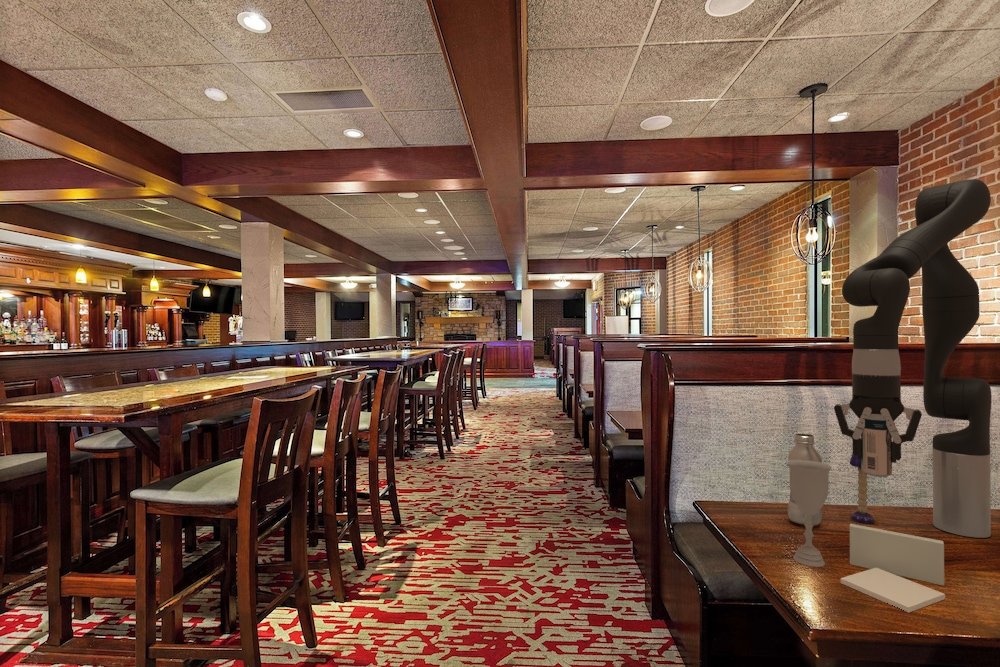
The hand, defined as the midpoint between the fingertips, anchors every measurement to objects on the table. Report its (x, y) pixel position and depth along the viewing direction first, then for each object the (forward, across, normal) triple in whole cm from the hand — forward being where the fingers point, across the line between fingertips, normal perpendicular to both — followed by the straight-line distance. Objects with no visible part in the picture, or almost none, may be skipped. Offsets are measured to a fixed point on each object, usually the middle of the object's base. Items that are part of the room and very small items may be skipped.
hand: (876, 459), depth 96 cm
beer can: (+3, 0, 0) cm, 3 cm away
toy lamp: (+19, -3, +19) cm, 27 cm away
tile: (+18, +2, -17) cm, 25 cm away
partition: (+18, +2, -8) cm, 20 cm away
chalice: (+18, -10, -12) cm, 24 cm away
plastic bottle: (+18, -13, +9) cm, 24 cm away
